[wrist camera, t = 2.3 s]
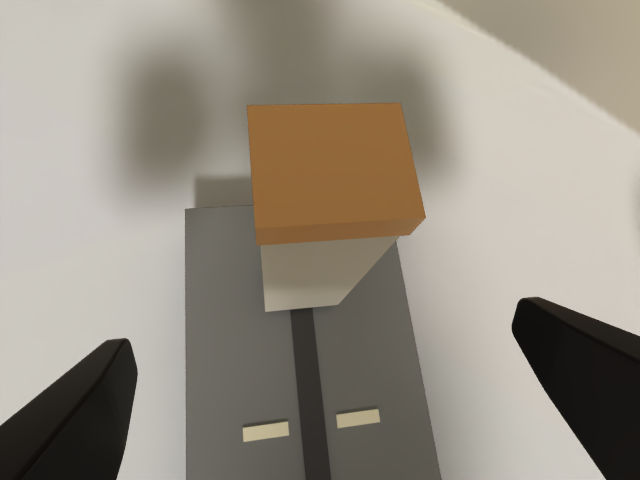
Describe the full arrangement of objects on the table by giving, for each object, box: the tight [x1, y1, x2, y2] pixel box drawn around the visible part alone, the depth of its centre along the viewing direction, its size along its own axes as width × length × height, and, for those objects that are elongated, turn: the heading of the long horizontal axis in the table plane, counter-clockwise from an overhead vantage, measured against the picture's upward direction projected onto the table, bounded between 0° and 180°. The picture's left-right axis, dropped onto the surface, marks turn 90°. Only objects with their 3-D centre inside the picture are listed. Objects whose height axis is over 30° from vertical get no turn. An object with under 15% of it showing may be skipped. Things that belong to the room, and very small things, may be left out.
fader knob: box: [247, 103, 426, 312], centre depth 13 cm, size 3×3×10 cm
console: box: [185, 205, 441, 480], centre depth 18 cm, size 16×10×2 cm, turn 6°
